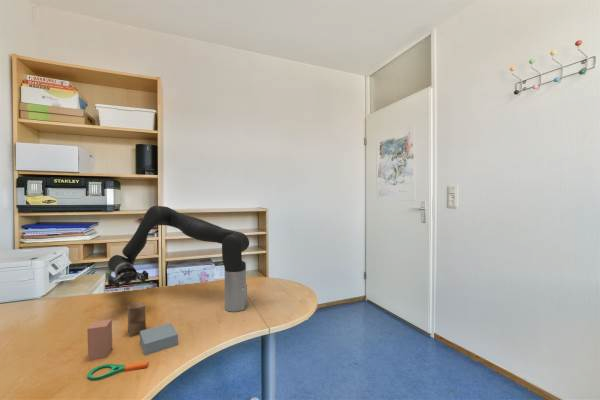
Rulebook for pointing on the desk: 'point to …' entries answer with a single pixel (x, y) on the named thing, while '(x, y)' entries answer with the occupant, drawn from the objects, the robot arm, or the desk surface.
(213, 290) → the desk surface
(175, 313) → the desk surface
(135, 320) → the walnut block
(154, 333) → the slate base block
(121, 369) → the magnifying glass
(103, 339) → the brick-red block
